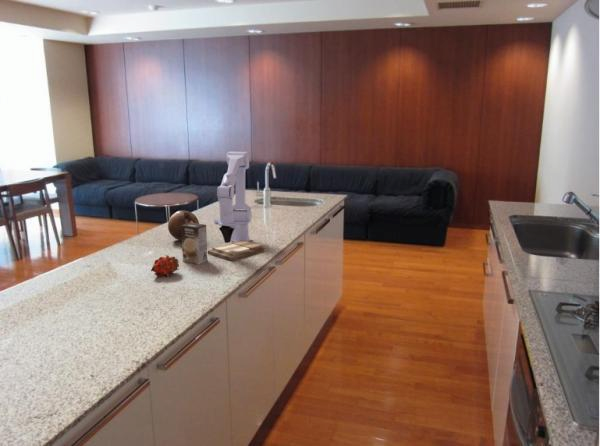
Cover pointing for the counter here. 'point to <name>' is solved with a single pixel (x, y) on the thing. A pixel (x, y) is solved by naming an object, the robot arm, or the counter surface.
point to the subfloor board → (253, 250)
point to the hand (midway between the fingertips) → (227, 242)
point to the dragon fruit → (165, 266)
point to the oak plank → (231, 249)
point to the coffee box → (194, 243)
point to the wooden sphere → (180, 222)
